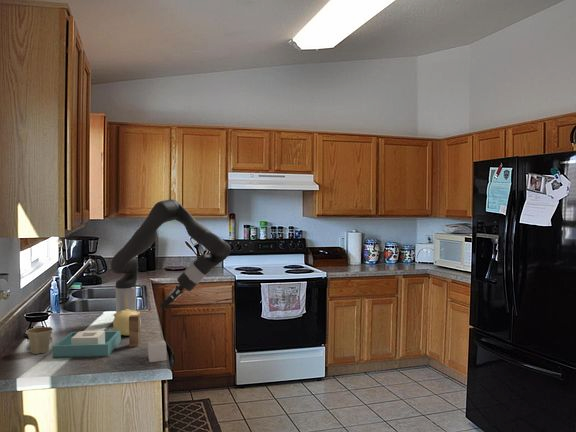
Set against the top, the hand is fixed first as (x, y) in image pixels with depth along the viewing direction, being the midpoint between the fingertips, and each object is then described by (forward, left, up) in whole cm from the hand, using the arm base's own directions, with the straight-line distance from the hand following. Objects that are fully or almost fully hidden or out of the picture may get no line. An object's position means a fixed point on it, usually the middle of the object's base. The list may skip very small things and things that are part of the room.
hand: (163, 305), depth 207 cm
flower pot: (+5, -47, -16) cm, 49 cm away
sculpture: (-18, -19, -16) cm, 30 cm away
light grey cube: (+19, 0, -16) cm, 25 cm away
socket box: (+4, -29, -16) cm, 33 cm away
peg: (0, -12, -16) cm, 20 cm away
